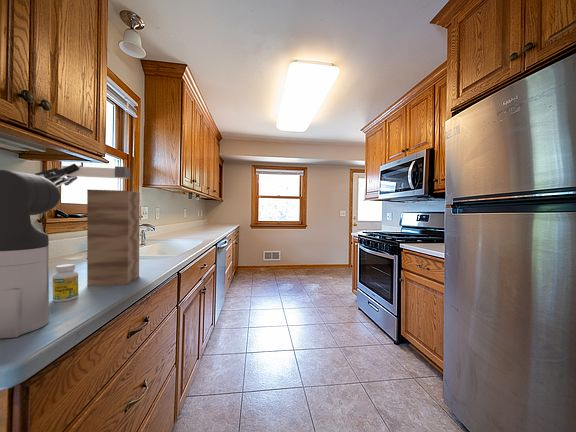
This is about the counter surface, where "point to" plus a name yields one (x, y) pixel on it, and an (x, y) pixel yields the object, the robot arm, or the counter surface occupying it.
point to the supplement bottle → (65, 283)
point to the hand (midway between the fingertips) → (80, 167)
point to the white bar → (102, 172)
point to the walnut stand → (112, 237)
